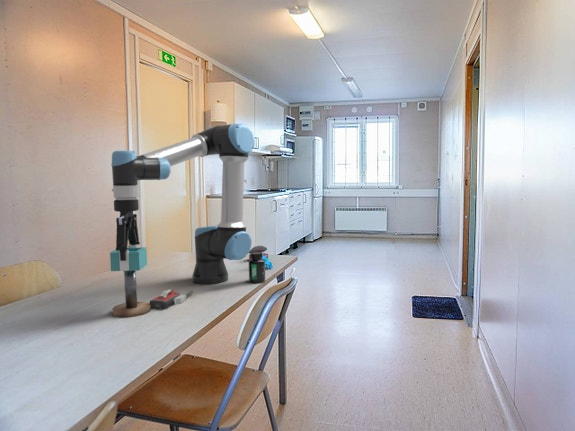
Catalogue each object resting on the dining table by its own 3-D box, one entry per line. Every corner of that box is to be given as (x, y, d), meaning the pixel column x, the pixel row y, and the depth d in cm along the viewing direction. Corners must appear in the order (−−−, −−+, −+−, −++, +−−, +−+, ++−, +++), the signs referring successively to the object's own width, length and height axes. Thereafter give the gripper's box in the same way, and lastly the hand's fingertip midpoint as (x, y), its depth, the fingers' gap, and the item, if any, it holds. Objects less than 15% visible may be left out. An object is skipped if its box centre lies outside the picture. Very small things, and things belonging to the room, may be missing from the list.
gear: (267, 267, 203) (254, 251, 206) (259, 276, 205) (246, 260, 208) (277, 266, 213) (265, 250, 216) (269, 274, 215) (257, 258, 218)
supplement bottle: (255, 284, 180) (255, 255, 179) (245, 281, 185) (245, 253, 184) (268, 281, 185) (268, 253, 184) (258, 278, 190) (258, 251, 189)
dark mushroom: (250, 270, 227) (241, 253, 226) (257, 264, 236) (248, 248, 236) (268, 261, 223) (259, 244, 222) (275, 255, 232) (265, 239, 232)
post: (138, 305, 149) (136, 264, 148) (135, 308, 145) (133, 266, 144) (127, 305, 149) (125, 264, 147) (124, 308, 145) (122, 266, 144)
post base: (154, 305, 154) (154, 301, 153) (145, 316, 142) (145, 312, 141) (119, 306, 153) (119, 302, 153) (107, 317, 141) (106, 313, 141)
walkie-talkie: (170, 311, 147) (195, 295, 167) (169, 298, 147) (195, 283, 166) (146, 310, 149) (174, 294, 169) (145, 297, 149) (173, 282, 168)
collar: (147, 264, 150) (146, 247, 150) (139, 270, 141) (138, 251, 141) (120, 265, 150) (119, 247, 149) (111, 271, 141) (110, 252, 140)
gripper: (124, 197, 154) (127, 260, 156) (102, 201, 133) (105, 274, 135) (146, 196, 155) (149, 260, 157) (127, 200, 133) (130, 274, 135)
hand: (129, 267), depth 146 cm, fingers closed on collar, 9 cm apart
